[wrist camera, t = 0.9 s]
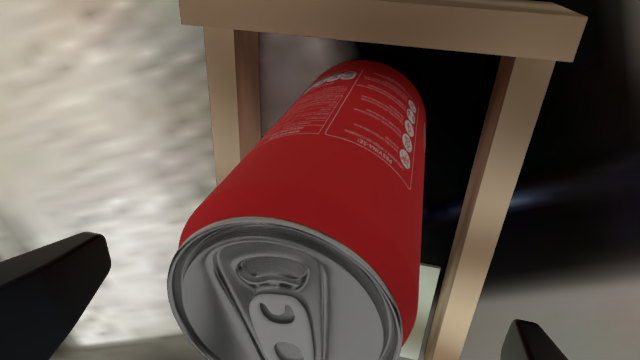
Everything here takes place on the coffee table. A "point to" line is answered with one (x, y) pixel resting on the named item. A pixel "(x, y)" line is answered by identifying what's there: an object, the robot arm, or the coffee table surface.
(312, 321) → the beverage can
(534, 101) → the bay
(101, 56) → the coffee table surface
